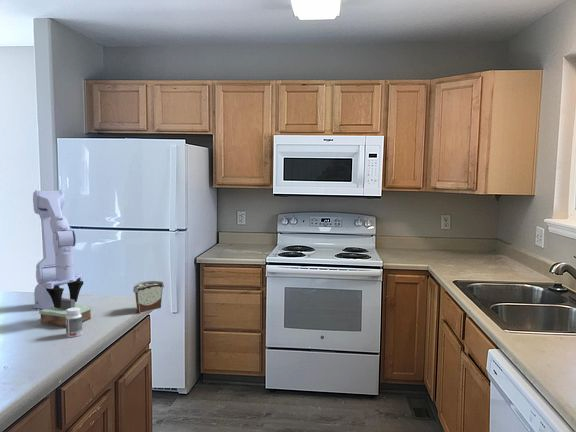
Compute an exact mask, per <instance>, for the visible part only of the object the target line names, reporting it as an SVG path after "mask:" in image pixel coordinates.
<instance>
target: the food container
mask: <svg viewBox="0 0 576 432" xmlns="http://www.w3.org/2000/svg"><path fill="white" fill-rule="evenodd" d="M164 288H165V283H164V282H163V281H159V280H149V281H148V280H147V281H140V282H137V283H135V284H134V286H133V289H132V291H133V293H134V294H135V303H136V311H137V313H138V314H143V313H147V312H151V311H155V310H159V309H161V308H162V301H163V289H164Z"/></svg>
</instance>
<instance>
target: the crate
mask: <svg viewBox="0 0 576 432" xmlns="http://www.w3.org/2000/svg"><path fill="white" fill-rule="evenodd" d="M91 311H92V309H91V310H88V311H86V312H83V313H81V315H82V323H84V322H87V321H89V320H91V319H92V315H91ZM41 324H42V325H48V326H55V327H63V328H66V317H60V316H53V315H45V314H40V325H41Z"/></svg>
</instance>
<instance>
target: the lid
mask: <svg viewBox="0 0 576 432" xmlns="http://www.w3.org/2000/svg"><path fill="white" fill-rule="evenodd" d="M75 307H76V308H80V314H81V313H83V312H86V311H88V310H91V311H92V309H93V308H92V306H91V305H85V304H84V305H83V304H77V303H76V302H75V300H74V299H70V298H64V297H63V298H62V299H61V308H54V306H51V307H49V308H46V309H40V310H39V311H38V314H40V315H41V314H45V315H53V316H60V317H66V315H67V313H66V310H67V309H69V308H75Z"/></svg>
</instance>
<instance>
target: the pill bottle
mask: <svg viewBox="0 0 576 432" xmlns="http://www.w3.org/2000/svg"><path fill="white" fill-rule="evenodd" d="M66 313H67V315H66V327H65V336H66V337H69V338H76V337H80V336H82V335H83V322H82V315H81V314H80V308H76V307H75V308H69V309H67V310H66Z"/></svg>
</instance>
